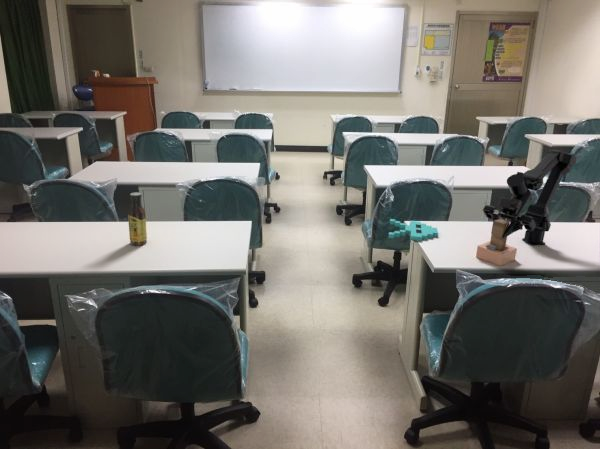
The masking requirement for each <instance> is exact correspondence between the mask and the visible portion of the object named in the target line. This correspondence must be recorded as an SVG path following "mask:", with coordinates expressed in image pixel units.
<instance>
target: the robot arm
mask: <svg viewBox="0 0 600 449" xmlns="http://www.w3.org/2000/svg"><path fill="white" fill-rule="evenodd" d="M576 161H577V157H576V156H575V154H573V153H567V152H564V151H563V150H558V149H550V150H548V152H547V153H546V155H545V156H544V157H543V158H542V159H541V161H539V162H538V163H537V164H536V166H534V168H531V169H528V170H526V171H525V172H521V171H517V172H516V173H514V174H512V175H510V176H509V177H507V179H506V184H507V187H508V188H509V191H510V193H511V194H512V195H511V198H505V197H500V198H499V199H500V200H499V202H498V204H497V206H498V207H500V210H501V211H502V212H501V211H500V210H499V209H497V207H496V206H493V205H488V204H486V205H485V206H484V207H483V208H482V211H483V213H484V215H485V217H486V218H487V219H489V220H492V224H493V223H494V221H495V220H498V219H503V220H507V221H509V222H510V223H509V226H508V228H507V229H506V231H505V232H504V234H503V236H502V238H505V237H507V238H508V236H510V235H511V234H513V233H516V232H518V231H521V230H523V227H524V229H525V232H524V238H521V239H522V241H523V242H525V243H527V244H529V245H531V246H537V245H542V246H543V245H546V242H545V241H544V238H545V233H546V232H549V231H550V228H551V226H552V225H551V222H550V219H549V218H550V210H549V208H550V205H551V203H552V201H553V198H554V197H555V194H556V192H557V190H558V188H559V186H560V184H561V181H562V179H563V177H564V176H565V175H566V174H568V173H570V172H571V171H572V168H573V167H574V166H575V165H576ZM547 175H548V177H547V179H546V181H545V183H544V178H545V177H546V176H547ZM543 185H544V186H543ZM541 188H542V189H541ZM539 189H541V192H540V194H539V195H538V199H537V200H536V201H535V203H534V204H531V203H530V205H528V207H527V210H526V212H525V207H526V206H527V204H528V202H529V201H532V199H533V196H532V195H533V194H532V192H531V191H535V192H537V191H539ZM524 212H525V213H524ZM522 213H524V214H522ZM491 226H492V227H491V228H492V229H493V225H491ZM492 229H491V230H492ZM491 235H492V231H491Z"/></svg>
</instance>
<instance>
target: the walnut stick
mask: <svg viewBox="0 0 600 449" xmlns="http://www.w3.org/2000/svg"><path fill="white" fill-rule="evenodd" d="M510 222H511V221H510V220H506V219H503V218H501V219H498V220H495V221H494V223H493V222H492V226H493V229H491V232H492V234H491V236H490V240H489V241H490V244H491V245H494V246H497V247H496V250H497V251H500V252H501V251H504V250H505V246H506V245H507V239H508V236H507V237H505V238H502V236H503V234H504V232H505V231H506V229H507V228H508V226H509V225H510Z"/></svg>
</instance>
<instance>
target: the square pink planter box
mask: <svg viewBox="0 0 600 449" xmlns="http://www.w3.org/2000/svg"><path fill="white" fill-rule="evenodd" d="M490 241H491V240H489V241H487V242H484V243H482V244H479V245H477V249H476V252H475V253H476V256H475V258H477V259H480V260H483V261H486V262H489V263H492V264H494V265H498V266H503V265H505V264H508V263H511V262H512V261H515V260H516V255H517V251H518V250H517V248H516V247H515V246H510V245H508V244H506V246H505V250H504V251H501V252H500V251H497V250H496V247H497V246H494V245H491V244H490Z"/></svg>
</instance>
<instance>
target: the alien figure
mask: <svg viewBox="0 0 600 449" xmlns="http://www.w3.org/2000/svg"><path fill="white" fill-rule="evenodd" d="M389 225H392V226H393V225H394V227H395V228H396V227H399V230H394V232H388V237H387V238H388V239H395V238H400V236H402V237H406V235H410V236H409V237H410V241H416V242H422V240H424V241H425V240H426V241H427V240H428V239H433V238H438V235H439V230H438V227H433V226H432V225H429V224H427V223H422V222H421V221H419V220H418V221H417V220H410V221H409V225H407V224H406V223H402V222H401V221H399V220H396V219H395V218H393V219H392V218H390V219H389Z"/></svg>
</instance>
